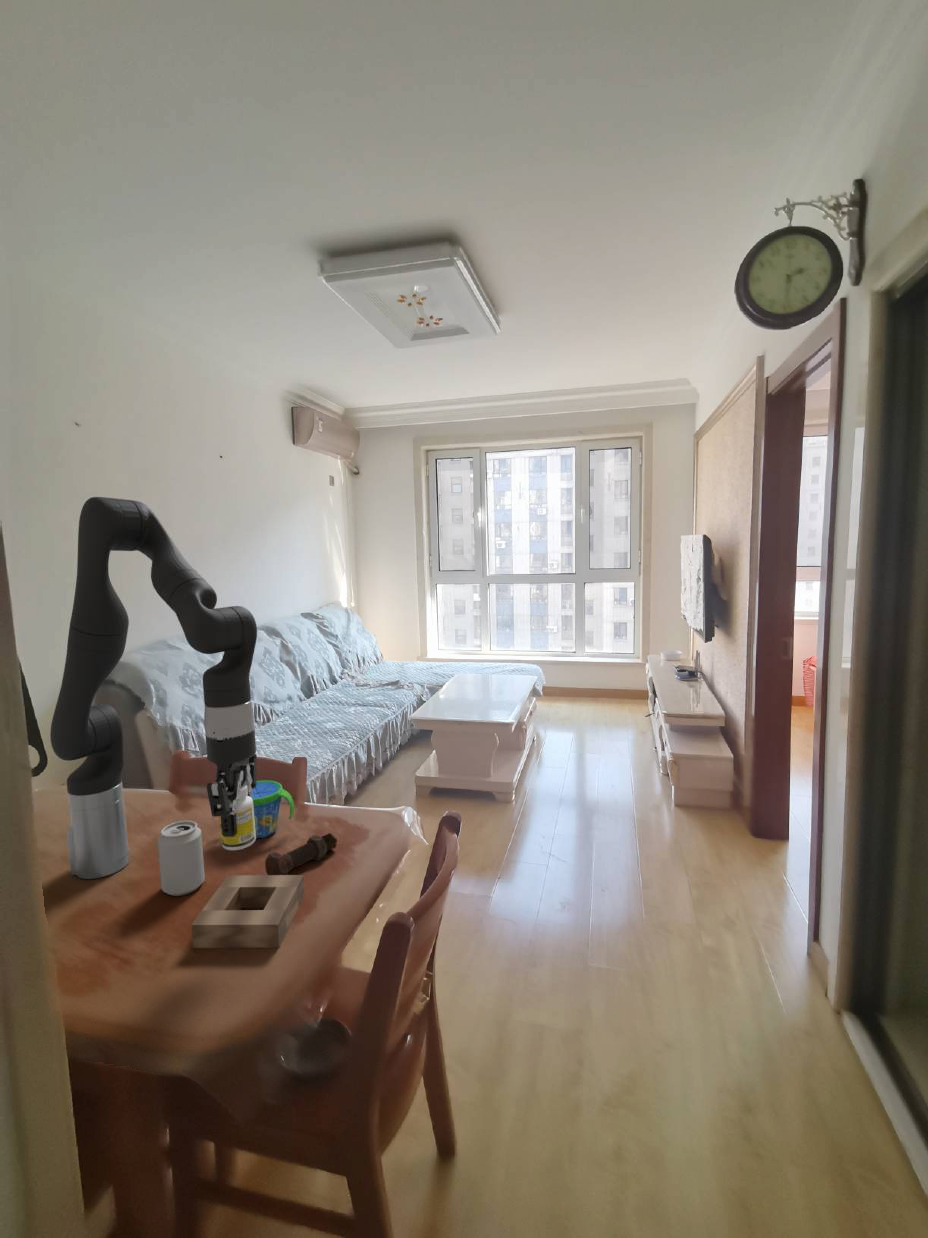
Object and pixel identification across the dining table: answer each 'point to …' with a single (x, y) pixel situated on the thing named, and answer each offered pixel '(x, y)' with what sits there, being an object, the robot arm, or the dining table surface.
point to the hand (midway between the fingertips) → (237, 826)
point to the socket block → (249, 912)
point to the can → (181, 858)
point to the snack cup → (268, 806)
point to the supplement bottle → (241, 823)
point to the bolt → (300, 854)
